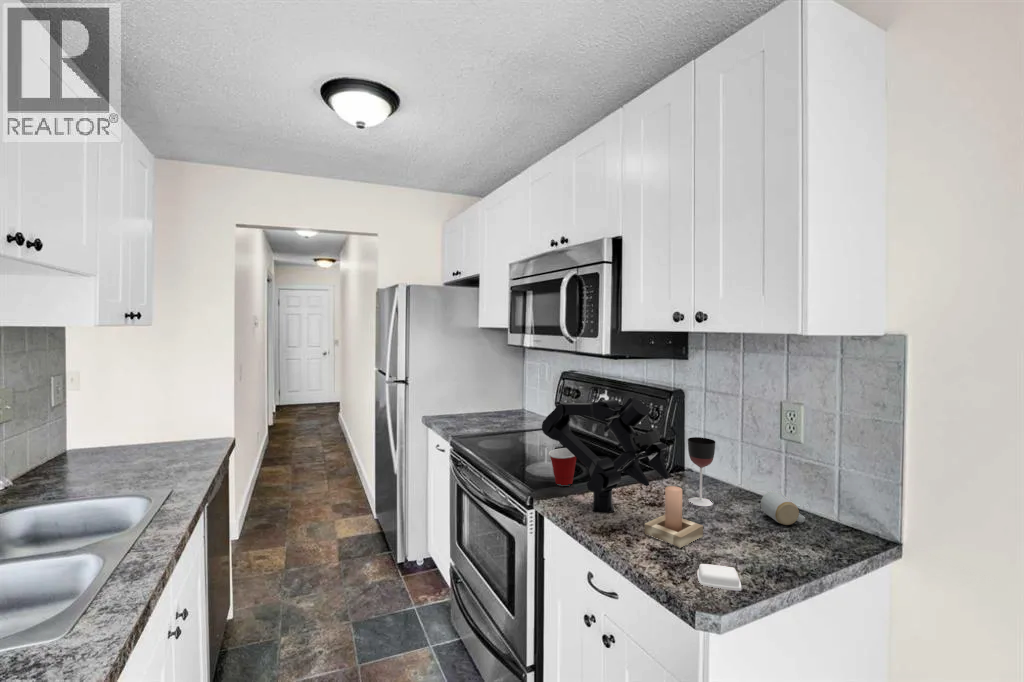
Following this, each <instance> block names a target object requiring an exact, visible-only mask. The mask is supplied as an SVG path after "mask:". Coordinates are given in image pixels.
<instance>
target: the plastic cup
mask: <svg viewBox="0 0 1024 682" xmlns="http://www.w3.org/2000/svg"><path fill="white" fill-rule="evenodd" d="M548 456H549V458H550V461H551V466H552V471H553V476H554V481H555V485H556V484H561V485H568V484H572V485H573V482H574V475H575V470H576V464H577V460H578V459H577V458H576V457H575V456H574V455H573V454H572V453H571V452H570V451H569V450H568V449H567V448H566V447H562V448H561V447H559V448H556V449H552V450H550V451H549V452H548Z"/></svg>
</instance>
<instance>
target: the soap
mask: <svg viewBox="0 0 1024 682" xmlns="http://www.w3.org/2000/svg"><path fill="white" fill-rule="evenodd" d="M698 566H699V567H698V569H697V571H696V576H697V581H699V582H698V584H699V583H700V584H701V585H703V586H702V587H705V586H708V587H707V588H711V587H713V588H712V589H718V588H719V589H720V588H721V589H720V590H725V589H727V590H726V591H735V592H736V591H737V592H739V591H740V592H741V591H742V583H741V579H740V578H739V577H740V576H739V574H738V571H737V570H736V568H735V567H733V566H725V565H719V564H712V563H711V564H708V563H699V565H698ZM700 584H699V585H700ZM701 585H700V586H701Z"/></svg>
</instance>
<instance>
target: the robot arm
mask: <svg viewBox="0 0 1024 682" xmlns="http://www.w3.org/2000/svg"><path fill="white" fill-rule="evenodd" d="M649 414H650V410H649V408H648V406H647V404H646V403H644V402H642V401H641V400H638V399H637V398H636V397H635V396H633V397H629V398H628V399H627V400H626V402H625V403H624V404H622V403H620V402H618V400H617V399H613V398H612V399H607V400H606V399H605V400H601V401H597V402H561V403H558V404H557V405H556V406H555V408H554V409H553V411H551V412H550V413H548V415H547V416H546V418H545V419H543V421H542V422H541V423H542V424H541V430H542V432H543V434H544V435H545V436H546V437H548V438H549V439H551V440H554V441H557V442H560V443H561V444H562V446H563V447H564V448H567V449H568V450H569V451H570V452H571V453H572V454H573V455H574V456H575V457H576V458H577V459H576V460H578V461H579V462H580V463H582V465H583V466H585V467H586V469H587V470H588V472H589V475H590V478H591V479H589V480H588V481H587V482H586V485H587V489H588V491H591V492H593V501H592V502H591V508H592V512H593V513H594V512H597V513H598V512H599V513H615V508H614V505H613V489H617V488H618V485H619V483H620V482H621V479H622V473H623V474H625V475H627V476H629V477H631V478H632V479H634V480H635V481H637V482H639V483H641V485H644V486H646V487H649V486H650V482H649V479H648V478H647V476H646V475H645V473H644V471H643V470H642V468H641V466H640V460H642V459H645V460H646V461H648V462H647V464H648V465H649V466H651V468H652V469H654V470H655V471H656V473H658V474H659V475H660V476H661V477H662V478H664V479H665V480H667V479H668V478H669V474H668V470H667V468H666V464H665V461H664V455H665V453H666V450H667V447H666V445H665V443H663V442H661V440H660V438H661V435H662V434H661V432H660V431H659V430H658V428H656V427H652V428H649V429H648V430H647V432H645V433H641V432H640V431H635V430H634V428H633V427H637V426H638V425H639V424H640V423H642V421H643V420H644V419H645V418H646V417H647V416H648V415H649ZM571 416H588V417H592V418H593V419H595V420H600V421H606V420H610V419H612V420H610V421H608V422H605V424H604V428H603V431H604V433H609V432H611V433H612V434H613V436H614V437H615V439H616V440H617V442H618V444H617V447H618V449H623V452H622V453H620V454H618V456H617V457H616V458H615V459H614V460H613V461H612V459H611V458H609V457H605V458H600V457H599V456H598V455H596V454H595V452H594V451H592V450H591V449H590V448H589V447H588V446H587V445H585V444H584V443H583V442H582V441H581V440H580V439H579V438H578V437H577V436H576V435H575V434H574V433H573V432H572V431H571V427H570V425H569V423H570V422H571Z"/></svg>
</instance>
